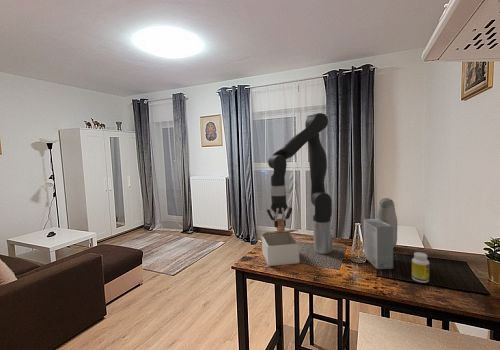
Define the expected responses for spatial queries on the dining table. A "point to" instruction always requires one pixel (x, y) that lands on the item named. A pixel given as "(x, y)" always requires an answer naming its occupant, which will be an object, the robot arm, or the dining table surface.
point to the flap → (280, 228)
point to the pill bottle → (420, 267)
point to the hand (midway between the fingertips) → (280, 227)
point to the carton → (280, 249)
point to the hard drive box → (378, 243)
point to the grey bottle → (388, 216)
